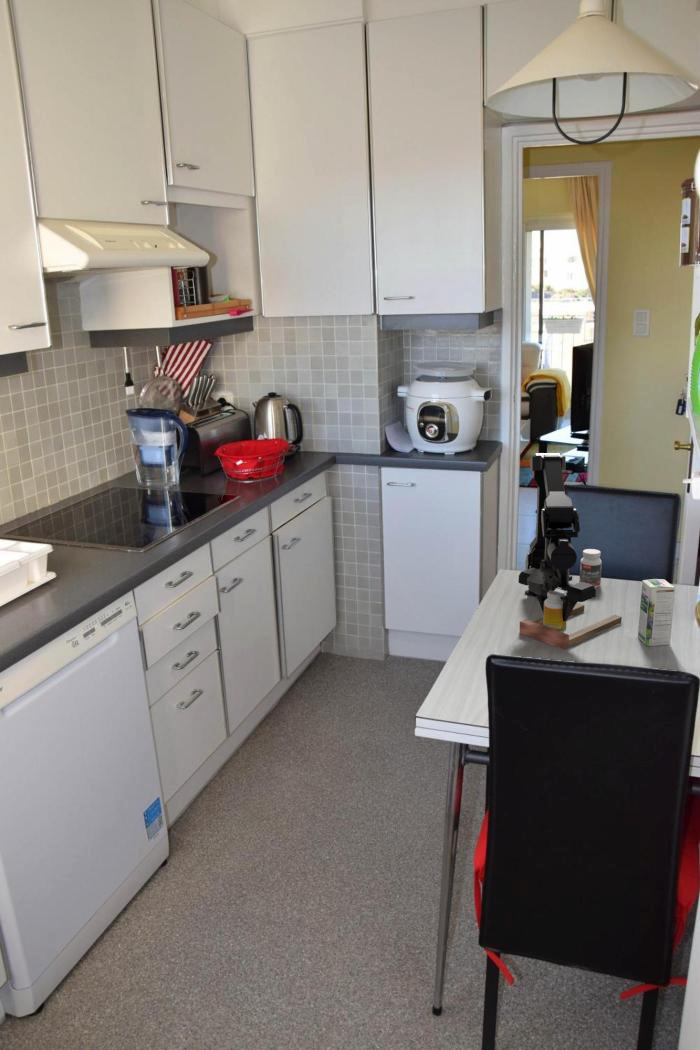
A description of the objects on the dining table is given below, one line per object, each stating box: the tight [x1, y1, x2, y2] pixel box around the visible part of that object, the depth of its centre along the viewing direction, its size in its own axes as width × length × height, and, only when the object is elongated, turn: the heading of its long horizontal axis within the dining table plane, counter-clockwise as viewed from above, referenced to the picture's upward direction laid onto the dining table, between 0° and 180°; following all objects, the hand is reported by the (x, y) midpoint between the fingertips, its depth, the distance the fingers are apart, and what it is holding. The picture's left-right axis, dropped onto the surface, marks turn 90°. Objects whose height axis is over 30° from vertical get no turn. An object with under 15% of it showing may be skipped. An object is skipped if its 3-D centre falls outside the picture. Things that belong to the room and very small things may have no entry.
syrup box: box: [637, 578, 676, 647], centre depth 196 cm, size 6×6×14 cm
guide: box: [519, 602, 623, 650], centre depth 207 cm, size 13×23×3 cm, turn 129°
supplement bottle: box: [543, 588, 568, 633], centre depth 202 cm, size 5×5×10 cm
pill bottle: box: [578, 548, 603, 589], centre depth 234 cm, size 6×6×10 cm
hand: (555, 617), depth 202 cm, fingers closed on supplement bottle, 5 cm apart
